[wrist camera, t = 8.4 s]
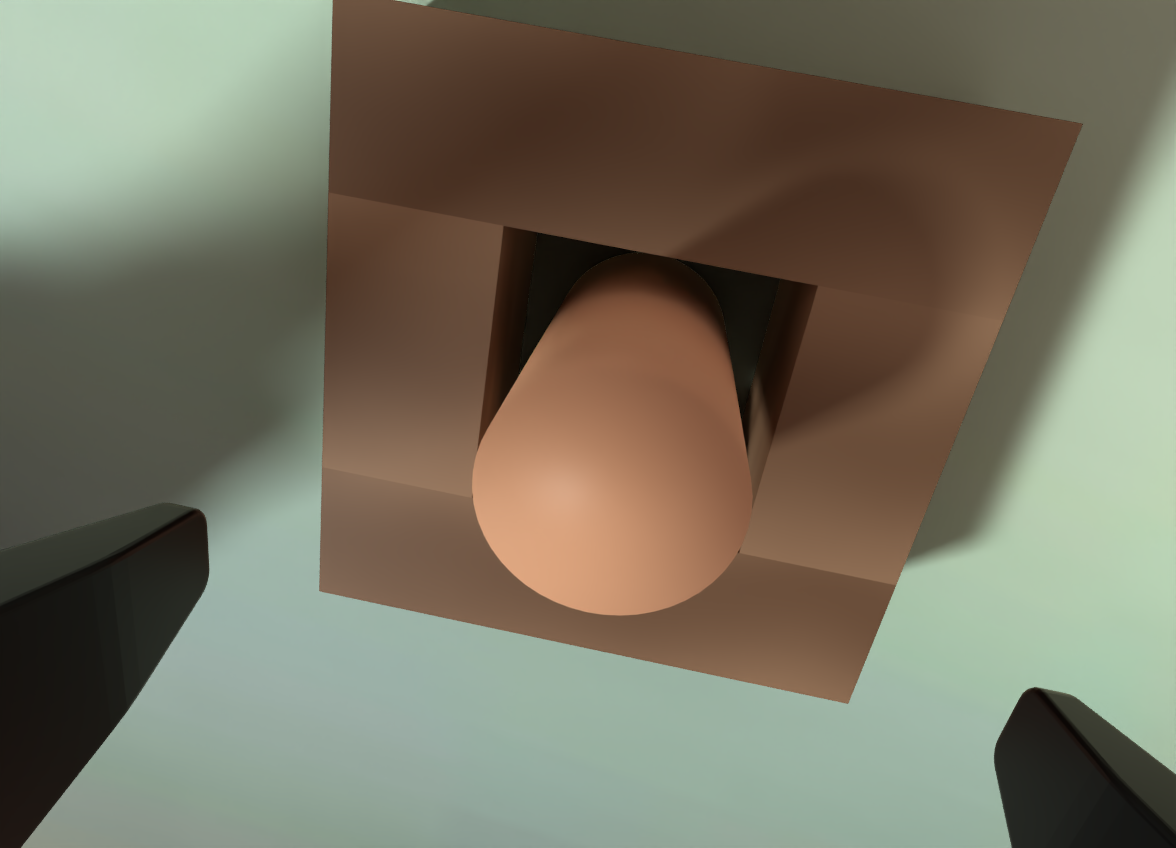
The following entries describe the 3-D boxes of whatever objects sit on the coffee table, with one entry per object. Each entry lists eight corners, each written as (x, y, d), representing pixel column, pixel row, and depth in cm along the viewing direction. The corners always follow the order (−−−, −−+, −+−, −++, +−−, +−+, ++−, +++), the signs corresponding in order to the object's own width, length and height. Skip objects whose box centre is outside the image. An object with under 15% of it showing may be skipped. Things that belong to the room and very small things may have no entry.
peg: (704, 428, 19) (715, 639, 12) (545, 397, 19) (459, 585, 12) (744, 270, 17) (786, 399, 10) (570, 237, 17) (487, 341, 10)
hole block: (819, 594, 20) (847, 703, 17) (383, 504, 21) (319, 591, 17) (989, 116, 15) (1083, 123, 12) (414, 12, 16) (332, -11, 12)
